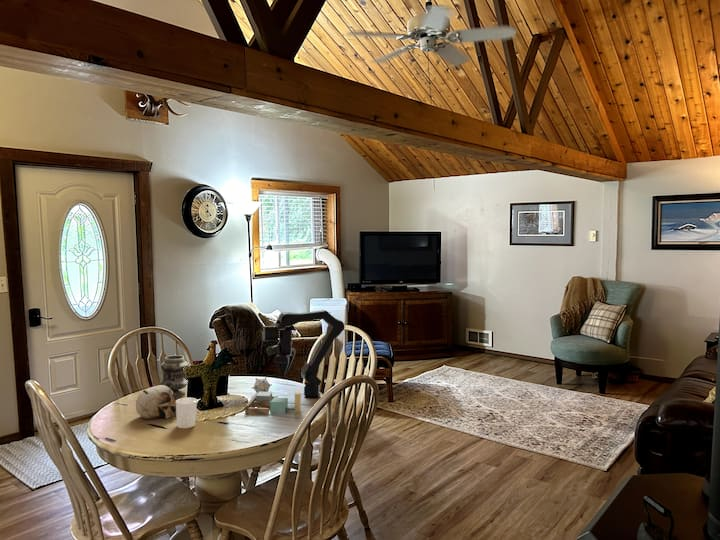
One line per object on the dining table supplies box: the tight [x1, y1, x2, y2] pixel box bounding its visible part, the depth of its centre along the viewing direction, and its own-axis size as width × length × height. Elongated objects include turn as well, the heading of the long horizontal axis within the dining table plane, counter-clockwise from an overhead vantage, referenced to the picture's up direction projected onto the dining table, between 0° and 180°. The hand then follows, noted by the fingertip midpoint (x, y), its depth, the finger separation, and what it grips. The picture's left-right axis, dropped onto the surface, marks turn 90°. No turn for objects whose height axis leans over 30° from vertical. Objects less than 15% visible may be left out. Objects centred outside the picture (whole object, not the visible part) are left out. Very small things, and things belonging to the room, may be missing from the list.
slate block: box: [256, 391, 273, 402], centre depth 228 cm, size 6×6×5 cm
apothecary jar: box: [159, 354, 189, 399], centre depth 238 cm, size 12×12×18 cm
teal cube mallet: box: [269, 392, 302, 415], centre depth 219 cm, size 12×6×8 cm, turn 84°
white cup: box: [175, 397, 198, 429], centre depth 201 cm, size 8×8×10 cm
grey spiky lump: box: [251, 376, 273, 393], centre depth 242 cm, size 9×8×10 cm
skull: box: [135, 384, 179, 420], centre depth 211 cm, size 16×17×13 cm
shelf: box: [244, 392, 279, 416], centre depth 224 cm, size 10×18×4 cm, turn 176°
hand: (284, 373), depth 236 cm, fingers open, 9 cm apart
